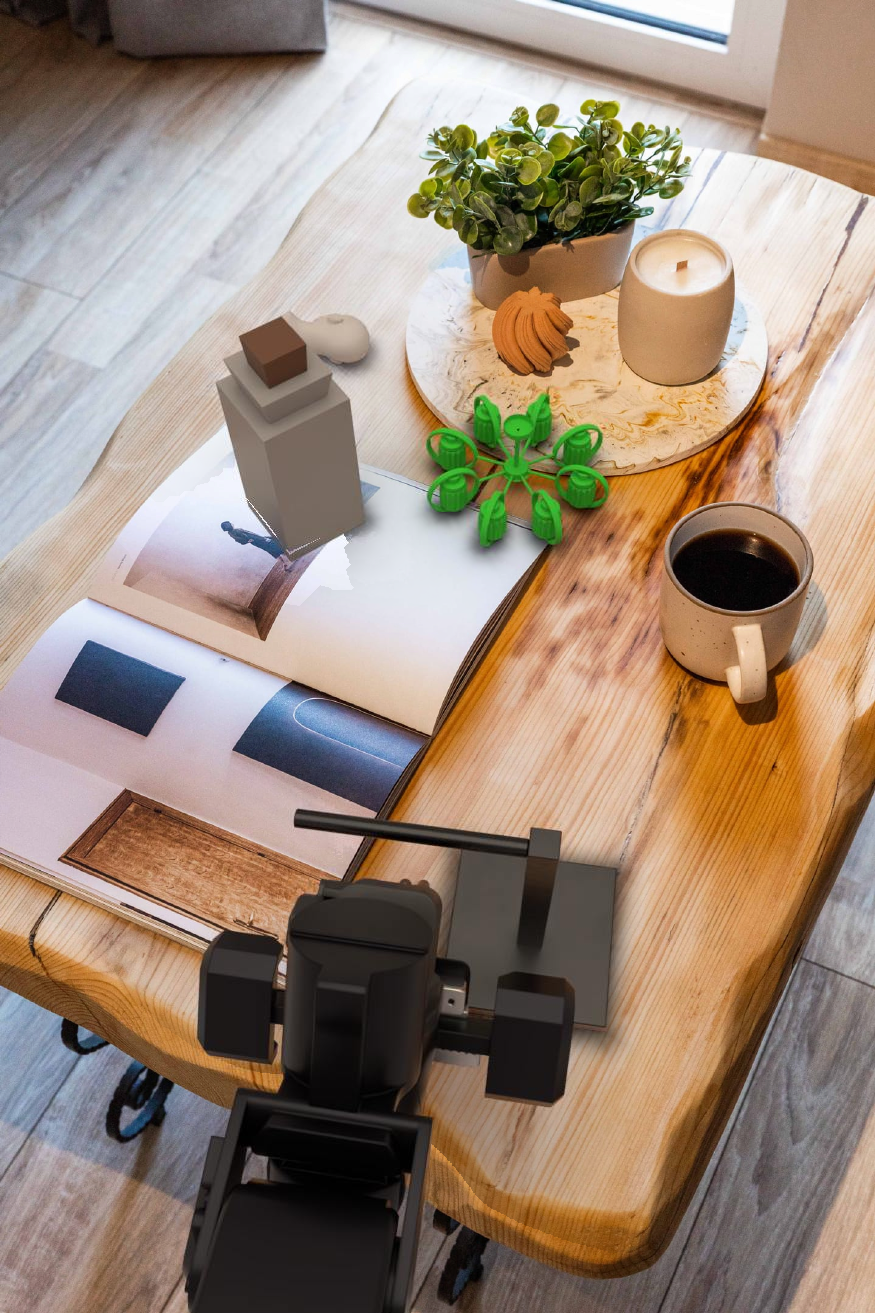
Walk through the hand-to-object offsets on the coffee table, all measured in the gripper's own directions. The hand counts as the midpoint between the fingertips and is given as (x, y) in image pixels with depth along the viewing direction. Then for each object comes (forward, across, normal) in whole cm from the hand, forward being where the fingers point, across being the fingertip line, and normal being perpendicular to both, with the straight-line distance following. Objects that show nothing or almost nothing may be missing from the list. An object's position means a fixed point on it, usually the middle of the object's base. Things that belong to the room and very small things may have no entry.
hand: (408, 939), depth 64 cm
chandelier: (+32, -2, -24) cm, 40 cm away
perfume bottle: (+28, +14, -20) cm, 37 cm away
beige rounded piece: (+41, +16, -33) cm, 55 cm away
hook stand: (+6, -3, +2) cm, 7 cm away
